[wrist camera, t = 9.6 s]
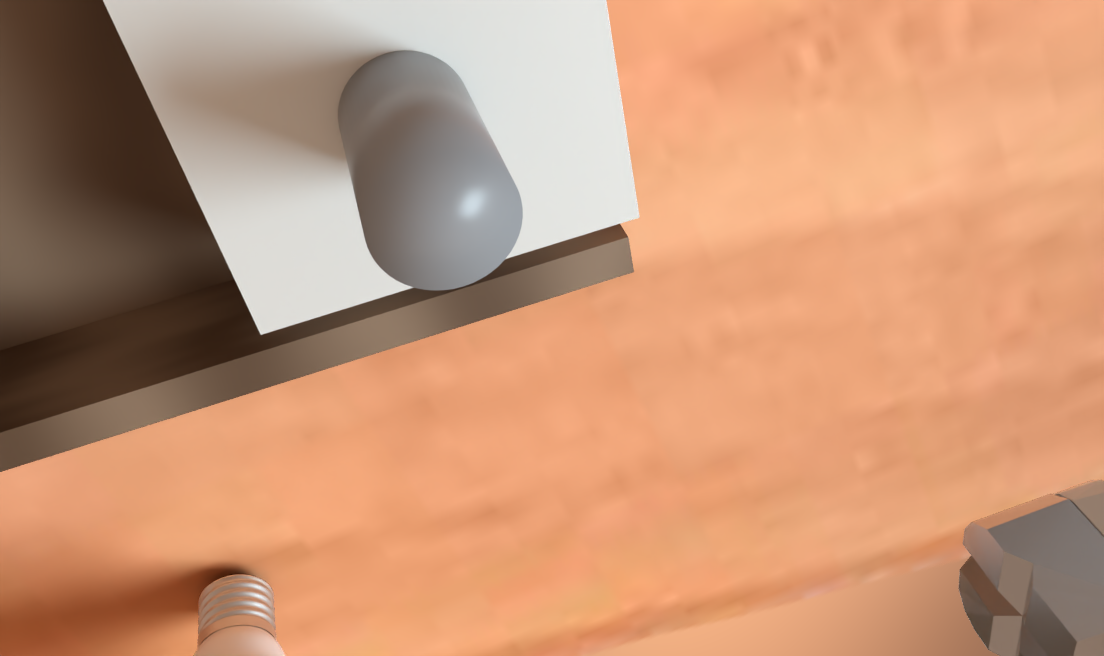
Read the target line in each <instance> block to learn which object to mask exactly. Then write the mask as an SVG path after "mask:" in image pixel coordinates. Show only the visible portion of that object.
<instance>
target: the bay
mask: <svg viewBox="0 0 1104 656" xmlns="http://www.w3.org/2000/svg"><path fill="white" fill-rule="evenodd" d="M632 272H634V270H633V264H632V257H631V251H630V245H629V239H628V236H627V234H626V233H625V231H624V230H623V228H622V227H621V225H620V224H617V225H614V226H610V227H607V228H604V229H601V230H598V231H594V232H591V233H588V234H585V235H581V236H578V237H575V238H572V239H569V240H565V241H562V242H559V243H556V244H552V245H549V246H546V247H543V248H539V249H536V250H533V251H530V252H527V253H523V254H520V255H517V256H514V257H510V258H507V259H505V260H504V261H503V262H502V263H501V264H500V265H499V266H498V267H497V268H496V269H495V270H493V271H492V272H491V273H490V274H488V275H486V276H485V277H483V278H482V279H480V280H478V281H476V282H474V283H471V284H469V285H466V286H463V287H459V288H455V289H449V290H435V291H434V290H423V289H418V288H411V289H407V290H404V291H401V292H398V293H394V294H391V295H388V296H385V297H381V298H378V299H375V300H372V301H369V302H365V303H362V304H359V305H356V306H352V307H349V308H346V309H343V310H340V311H336V312H333V313H330V314H327V315H323V316H320V317H317V318H314V319H311V320H307V321H304V322H301V323H298V324H294V325H291V326H288V327H285V328H282V329H278V330H275V331H272V332H269V333H265V334H262V335H261V334H260V332H259V330H258V328H257V326H256V324H255V322H254V320H253V317H252V315H251V313H250V311H249V309H248V307H247V305H246V303H245V300H244V298H243V296H242V294H241V292H240V290H239V288H238V286H237V283H236V281H235V279H234V277H233V275H232V273H231V271H230V269H229V267H228V264H227V262H226V260H225V258H224V256H223V254H222V252H221V250H220V247H219V245H218V243H217V241H216V239H215V237H214V235H213V233H212V230H211V228H210V226H209V224H208V222H207V220H206V218H205V216H204V214H203V211H202V209H201V207H200V205H199V203H198V201H197V199H196V197H195V194H194V192H193V190H192V188H191V186H190V184H189V182H188V180H187V177H186V175H185V173H184V171H183V169H182V167H181V165H180V163H179V161H178V158H177V156H176V154H175V152H174V150H173V148H172V146H171V144H170V141H169V139H168V137H167V135H166V133H165V131H164V129H163V127H162V124H161V122H160V120H159V118H158V116H157V114H156V112H155V110H154V108H153V105H152V103H151V101H150V99H149V97H148V95H147V93H146V91H145V88H144V86H143V84H142V82H141V80H140V78H139V76H138V74H137V72H136V69H135V67H134V65H133V63H132V61H131V59H130V57H129V55H128V52H127V50H126V48H125V46H124V44H123V42H122V40H121V38H120V35H119V33H118V31H117V29H116V27H115V25H114V23H113V21H112V19H111V16H110V14H109V12H108V10H107V8H106V6H105V4H104V2H103V0H0V472H2V471H5V470H8V469H11V468H14V467H17V466H21V465H24V464H27V463H30V462H33V461H36V460H40V459H43V458H46V457H49V456H52V455H55V454H59V453H62V452H65V451H68V450H71V449H75V448H78V447H81V446H84V445H87V444H90V443H94V442H97V441H100V440H103V439H106V438H109V437H113V436H116V435H119V434H122V433H125V432H128V431H132V430H135V429H138V428H141V427H144V426H147V425H151V424H154V423H157V422H160V421H163V420H166V419H170V418H173V417H176V416H179V415H182V414H185V413H189V412H192V411H195V410H198V409H201V408H204V407H208V406H211V405H214V404H217V403H220V402H223V401H227V400H230V399H233V398H236V397H239V396H242V395H246V394H249V393H252V392H255V391H258V390H261V389H265V388H268V387H271V386H274V385H277V384H280V383H284V382H287V381H290V380H293V379H296V378H300V377H303V376H306V375H309V374H312V373H315V372H319V371H322V370H325V369H328V368H331V367H334V366H338V365H341V364H344V363H347V362H350V361H353V360H357V359H360V358H363V357H366V356H369V355H372V354H376V353H379V352H382V351H385V350H388V349H391V348H395V347H398V346H401V345H404V344H407V343H410V342H414V341H417V340H420V339H423V338H426V337H429V336H433V335H436V334H439V333H442V332H445V331H448V330H452V329H455V328H458V327H461V326H464V325H467V324H471V323H474V322H477V321H480V320H483V319H486V318H490V317H493V316H496V315H499V314H502V313H505V312H509V311H512V310H515V309H518V308H521V307H525V306H528V305H531V304H534V303H537V302H540V301H544V300H547V299H550V298H553V297H556V296H559V295H563V294H566V293H569V292H572V291H575V290H578V289H582V288H585V287H588V286H591V285H594V284H597V283H601V282H604V281H607V280H610V279H613V278H616V277H620V276H623V275H626V274H629V273H632Z"/></svg>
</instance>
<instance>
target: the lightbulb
mask: <svg viewBox="0 0 1104 656" xmlns="http://www.w3.org/2000/svg"><path fill="white" fill-rule="evenodd" d="M198 604H199V610H198V615H199V618H198V625H199V626H198V647H197V650H196V652H195V653H194V655H193V656H286V655H285V653H284V651H283V649H282V647H281V645H280V644H279V643H278V641H277V639H276V632H275V630H276V626H275V615H274V612H275V608H274V594H273V590H272V588H271V586H270V585H269V584H268V583H267V582H266V581H264V580H262V579H261V578H258V577H256V576H252V575H245V574H236V575H230V576H225V577H222V578H220V579H218V580H216V581H214V582H212V583H211V584H209V585H208V586H207V587H206V588H205V589H204V590H203V591H202V593H201V595H200V597H199V602H198Z"/></svg>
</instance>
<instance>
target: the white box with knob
mask: <svg viewBox="0 0 1104 656" xmlns="http://www.w3.org/2000/svg"><path fill="white" fill-rule="evenodd" d="M103 2H104V4H105V6H106V8H107V10H108V12H109V14H110V16H111V19H112V21H113V23H114V25H115V27H116V29H117V31H118V33H119V35H120V38H121V40H122V42H123V44H124V46H125V48H126V50H127V52H128V55H129V57H130V59H131V61H132V63H133V65H134V67H135V69H136V72H137V74H138V76H139V78H140V80H141V82H142V84H143V86H144V88H145V91H146V93H147V95H148V97H149V99H150V101H151V103H152V105H153V108H154V110H155V112H156V114H157V116H158V118H159V120H160V122H161V124H162V127H163V129H164V131H165V133H166V135H167V137H168V139H169V141H170V144H171V146H172V148H173V150H174V152H175V154H176V156H177V158H178V161H179V163H180V165H181V167H182V169H183V171H184V173H185V175H186V177H187V180H188V182H189V184H190V186H191V188H192V190H193V192H194V194H195V197H196V199H197V201H198V203H199V205H200V207H201V209H202V211H203V214H204V216H205V218H206V220H207V222H208V224H209V226H210V228H211V230H212V233H213V235H214V237H215V239H216V241H217V243H218V245H219V247H220V250H221V252H222V254H223V256H224V258H225V260H226V262H227V264H228V267H229V269H230V271H231V273H232V275H233V277H234V279H235V281H236V283H237V286H238V288H239V290H240V292H241V294H242V296H243V298H244V300H245V303H246V305H247V307H248V309H249V311H250V313H251V315H252V317H253V320H254V322H255V324H256V326H257V328H258V330H259V332H260V334H261V335H262V334H265V333H269V332H272V331H275V330H278V329H282V328H285V327H288V326H291V325H294V324H298V323H301V322H304V321H307V320H311V319H314V318H317V317H320V316H323V315H327V314H330V313H333V312H336V311H340V310H343V309H346V308H349V307H352V306H356V305H359V304H362V303H365V302H369V301H372V300H375V299H378V298H381V297H385V296H388V295H391V294H394V293H398V292H401V291H404V290H407V289H411V288H418V289H423V290H434V291H435V290H449V289H455V288H459V287H463V286H466V285H469V284H471V283H474V282H476V281H478V280H480V279H482V278H483V277H485V276H486V275H488V274H490V273H491V272H492V271H493V270H495V269H496V268H497V267H498V266H499V265H500V264H501V263H502V262H503V261H504V260H505V259H507V258H510V257H514V256H517V255H520V254H523V253H527V252H530V251H533V250H536V249H539V248H543V247H546V246H549V245H552V244H556V243H559V242H562V241H565V240H569V239H572V238H575V237H578V236H581V235H585V234H588V233H591V232H594V231H598V230H601V229H604V228H607V227H610V226H614V225H617V224H620V223H623V222H627V221H630V220H633V219H636V218H639V211H638V204H637V198H636V191H635V185H634V178H633V172H632V165H631V159H630V152H629V146H628V139H627V133H626V126H625V119H624V113H623V106H622V100H621V93H620V87H619V80H618V74H617V67H616V61H615V54H614V48H613V41H612V35H611V28H610V22H609V15H608V9H607V2H606V0H103Z"/></svg>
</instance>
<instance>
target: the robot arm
mask: <svg viewBox="0 0 1104 656" xmlns="http://www.w3.org/2000/svg"><path fill="white" fill-rule="evenodd" d="M963 545H964V546H965V547H966V549H967V550H968V551H969V553H970V554H971V556H970V558H969V559H968V560H967V561H966V562H965V564H964V565H963V566H962V567H961V569H960V576H959V591H960V595H961V598H962V602H963V605H964V609H965V612H966V614H967V616H968V618H969V620H970V621H971V624H972V626H973V627H974V629H975V631H976V633H977V634H978V635H979V637H980V638H981V640H982V641H983V643H984V644H985V645H986V647H987V648H988V650H990V651H992V652H994V653H996V654H998V655H1000V656H1104V481H1103V480H1091V481H1089V482H1086V483H1083V484H1080V485H1077V486H1074V487H1071V488H1069V489H1066V490H1063V491H1060V492H1057V493H1054V494H1048V495H1045V496H1043V497H1040V498H1037V499H1034V500H1032V501H1029V502H1026V503H1023V504H1020V505H1018V506H1015V507H1012V508H1009V509H1007V510H1004V511H1001V512H998V513H995V514H993V515H990V516H987V517H984V518H982V519H979V520H976V521H973V522H971V523H970V524H969V525H968V526H967V527H966V528H965V532H964V539H963Z"/></svg>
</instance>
